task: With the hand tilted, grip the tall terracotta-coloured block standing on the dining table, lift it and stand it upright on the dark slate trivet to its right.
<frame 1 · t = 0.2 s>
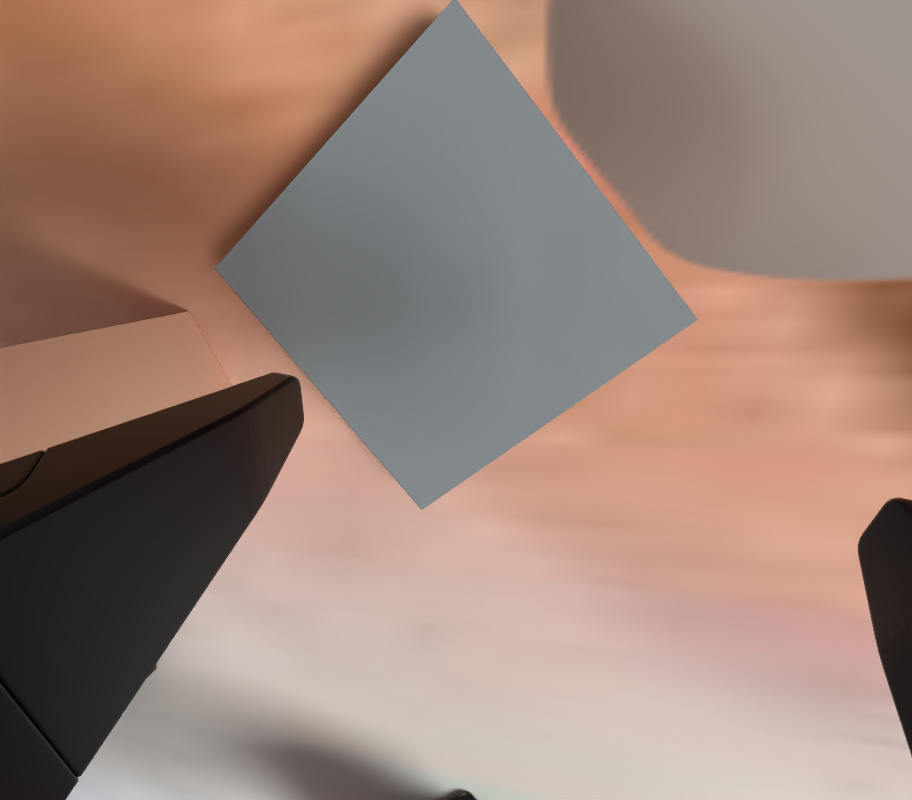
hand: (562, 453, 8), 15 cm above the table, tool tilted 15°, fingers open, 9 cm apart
block: (181, 368, 28), on the table
trivet: (449, 286, 23), on the table
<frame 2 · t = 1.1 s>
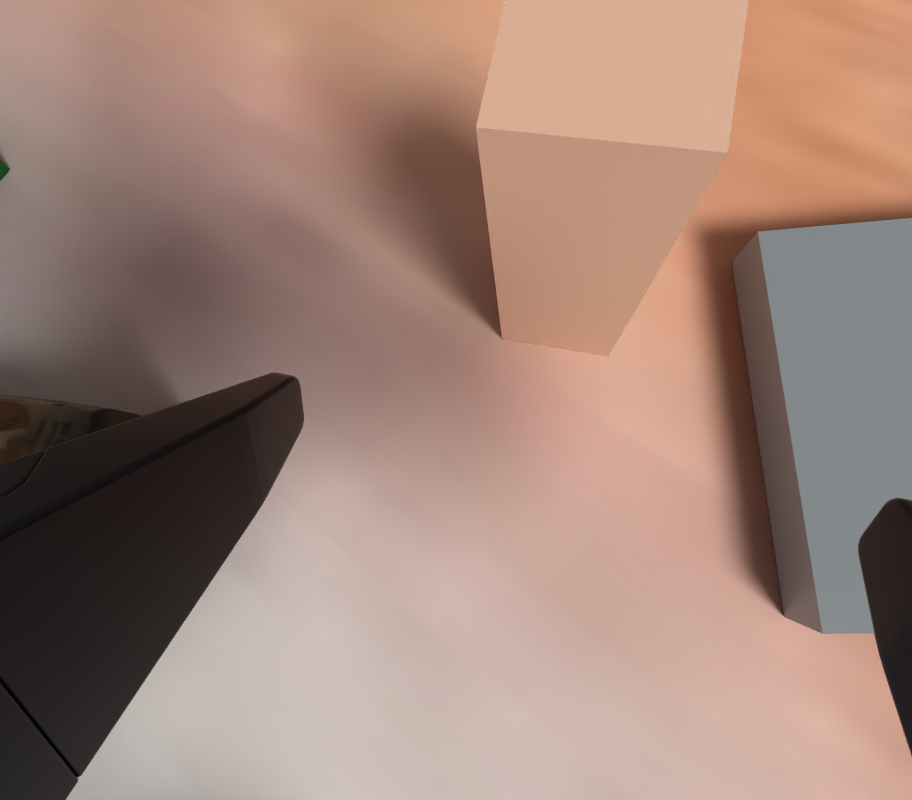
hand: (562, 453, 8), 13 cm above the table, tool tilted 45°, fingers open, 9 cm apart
block: (563, 297, 22), on the table
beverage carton: (10, 492, 25), on the table
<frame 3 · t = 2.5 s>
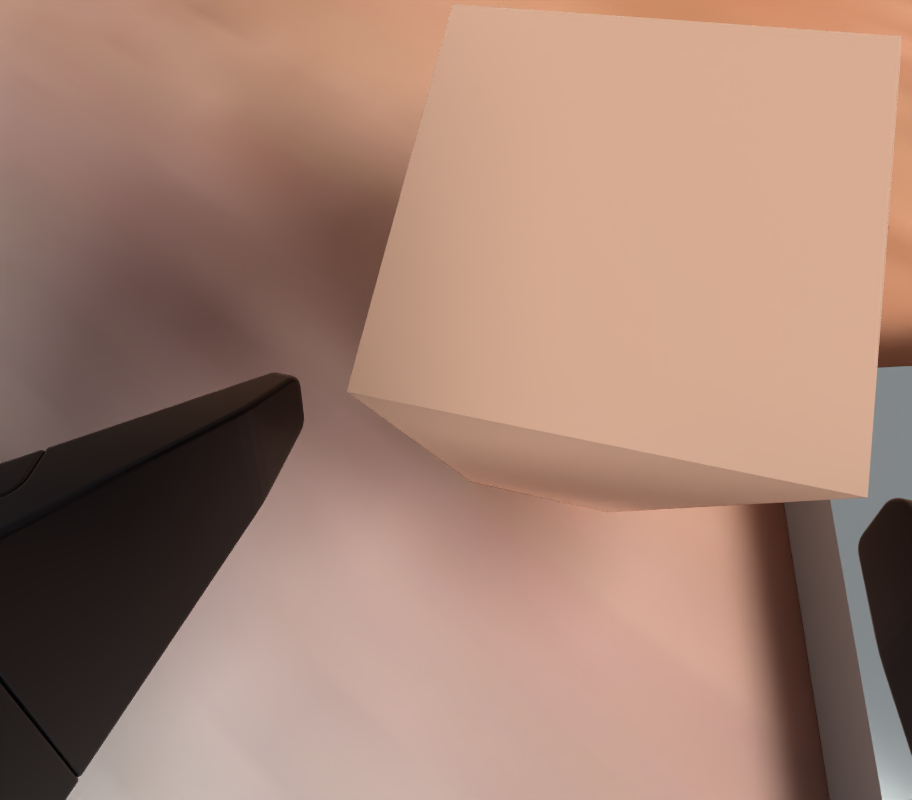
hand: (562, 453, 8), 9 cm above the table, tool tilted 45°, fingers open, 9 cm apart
block: (550, 430, 18), on the table
when the fingers open (10 cm above the table, at t = 7.1 s): block stays where it is, resting on trivet.
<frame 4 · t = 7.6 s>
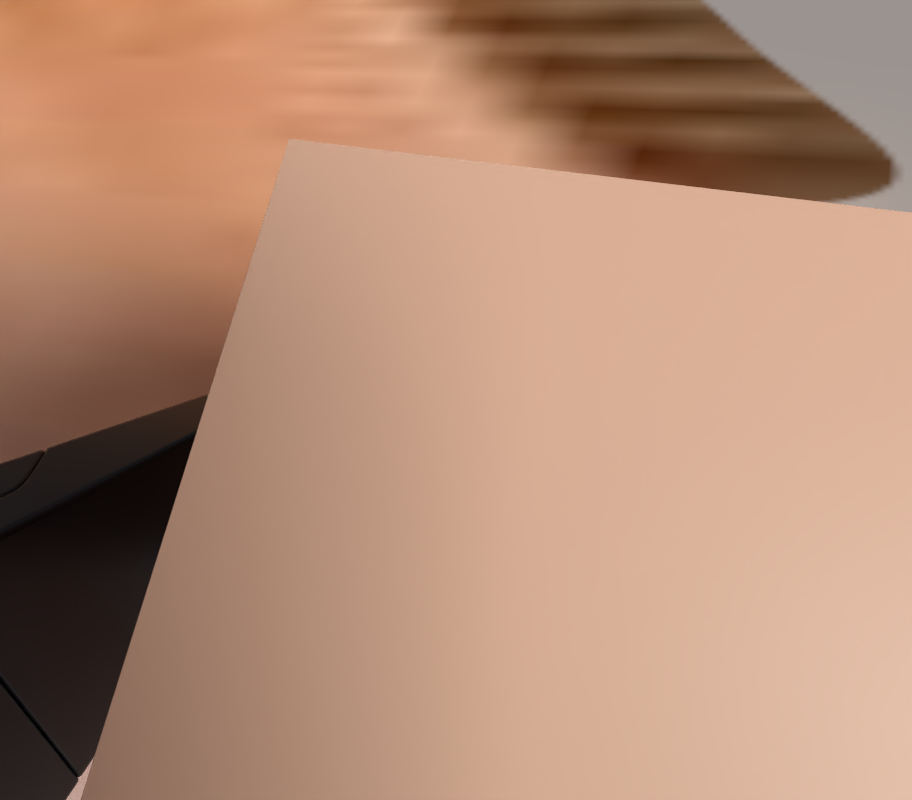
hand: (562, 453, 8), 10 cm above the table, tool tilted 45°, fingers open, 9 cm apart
block: (534, 527, 15), point 2 cm above the table, touching trivet
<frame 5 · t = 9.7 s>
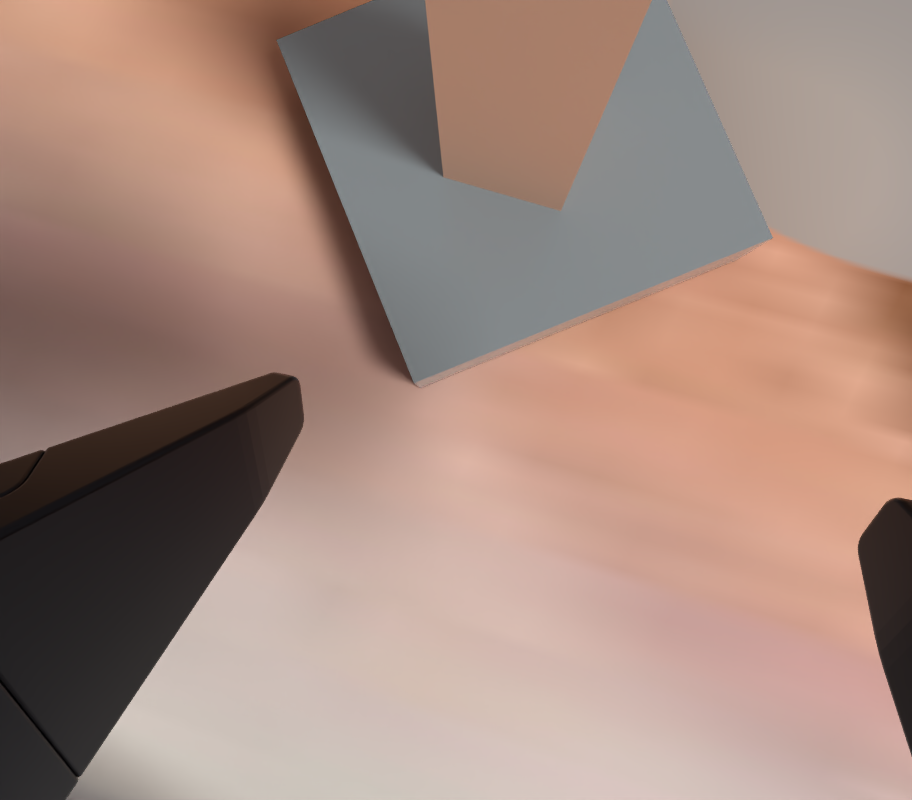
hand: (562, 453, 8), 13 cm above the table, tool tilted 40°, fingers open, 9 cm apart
block: (519, 136, 19), point 2 cm above the table, touching trivet
trivet: (513, 169, 22), on the table
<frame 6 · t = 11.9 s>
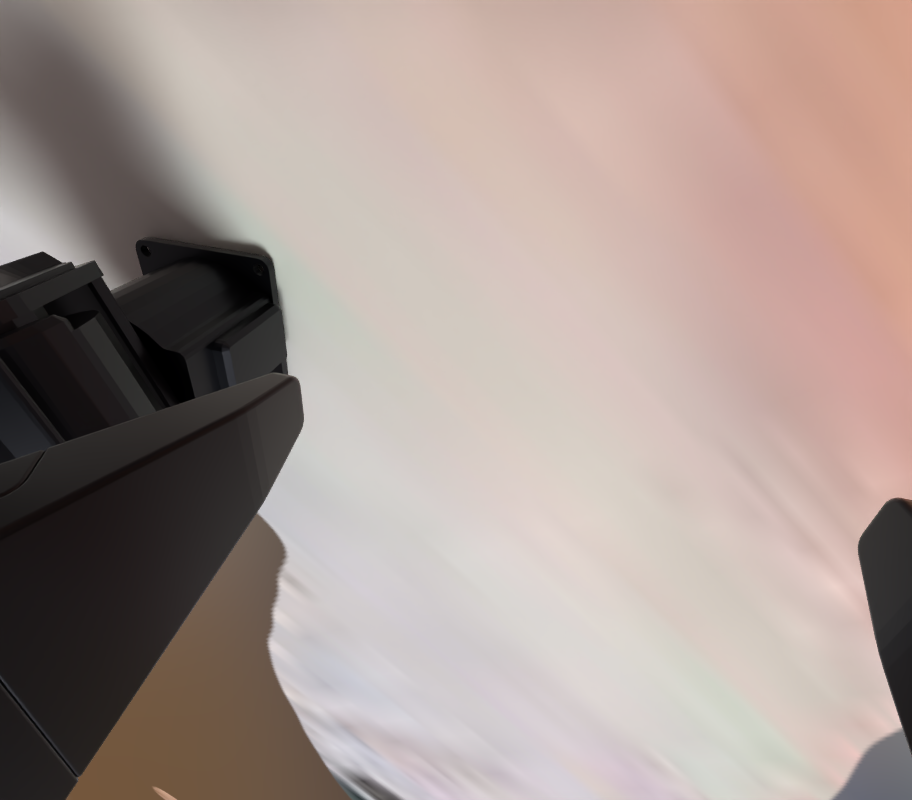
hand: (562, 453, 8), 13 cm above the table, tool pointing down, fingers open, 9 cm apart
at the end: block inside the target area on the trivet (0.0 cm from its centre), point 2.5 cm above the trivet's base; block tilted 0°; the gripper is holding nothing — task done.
